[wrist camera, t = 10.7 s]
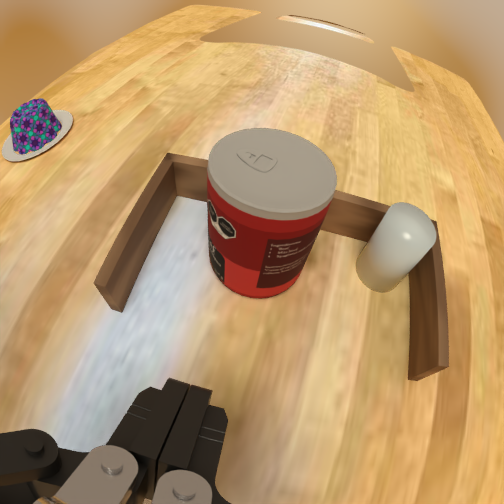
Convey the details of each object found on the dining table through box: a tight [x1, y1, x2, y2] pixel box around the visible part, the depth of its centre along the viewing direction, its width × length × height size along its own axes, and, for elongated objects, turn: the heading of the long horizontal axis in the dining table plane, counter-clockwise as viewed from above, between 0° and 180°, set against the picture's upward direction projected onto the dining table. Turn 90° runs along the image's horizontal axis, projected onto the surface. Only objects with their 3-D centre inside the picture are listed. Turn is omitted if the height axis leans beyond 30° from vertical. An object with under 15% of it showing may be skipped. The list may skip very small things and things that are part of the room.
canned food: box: [207, 128, 337, 298], centre depth 23 cm, size 8×8×11 cm
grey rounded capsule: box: [356, 202, 436, 292], centre depth 25 cm, size 5×5×7 cm
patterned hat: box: [2, 99, 73, 161], centre depth 34 cm, size 12×12×5 cm
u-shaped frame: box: [94, 153, 449, 381], centre depth 25 cm, size 26×14×4 cm, turn 77°
